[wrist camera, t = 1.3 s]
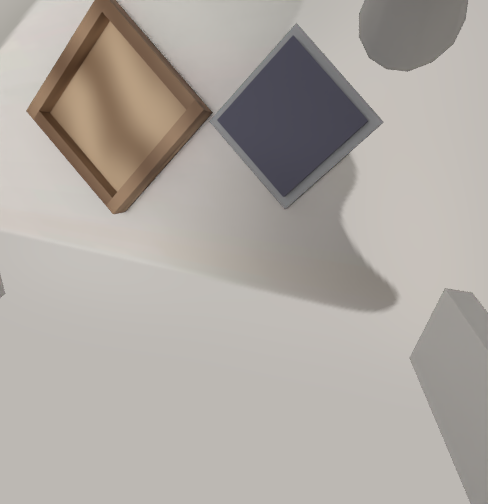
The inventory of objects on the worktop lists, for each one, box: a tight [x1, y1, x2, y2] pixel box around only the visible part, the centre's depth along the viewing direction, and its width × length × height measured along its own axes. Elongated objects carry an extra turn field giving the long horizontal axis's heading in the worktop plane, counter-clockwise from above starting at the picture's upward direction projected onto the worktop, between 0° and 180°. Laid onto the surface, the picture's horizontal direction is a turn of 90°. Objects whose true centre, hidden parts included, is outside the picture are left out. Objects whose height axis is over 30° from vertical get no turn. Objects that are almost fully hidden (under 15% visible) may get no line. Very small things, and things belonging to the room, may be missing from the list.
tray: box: [27, 0, 212, 214], centre depth 30 cm, size 12×12×2 cm
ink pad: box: [209, 23, 383, 209], centre depth 26 cm, size 9×9×2 cm
